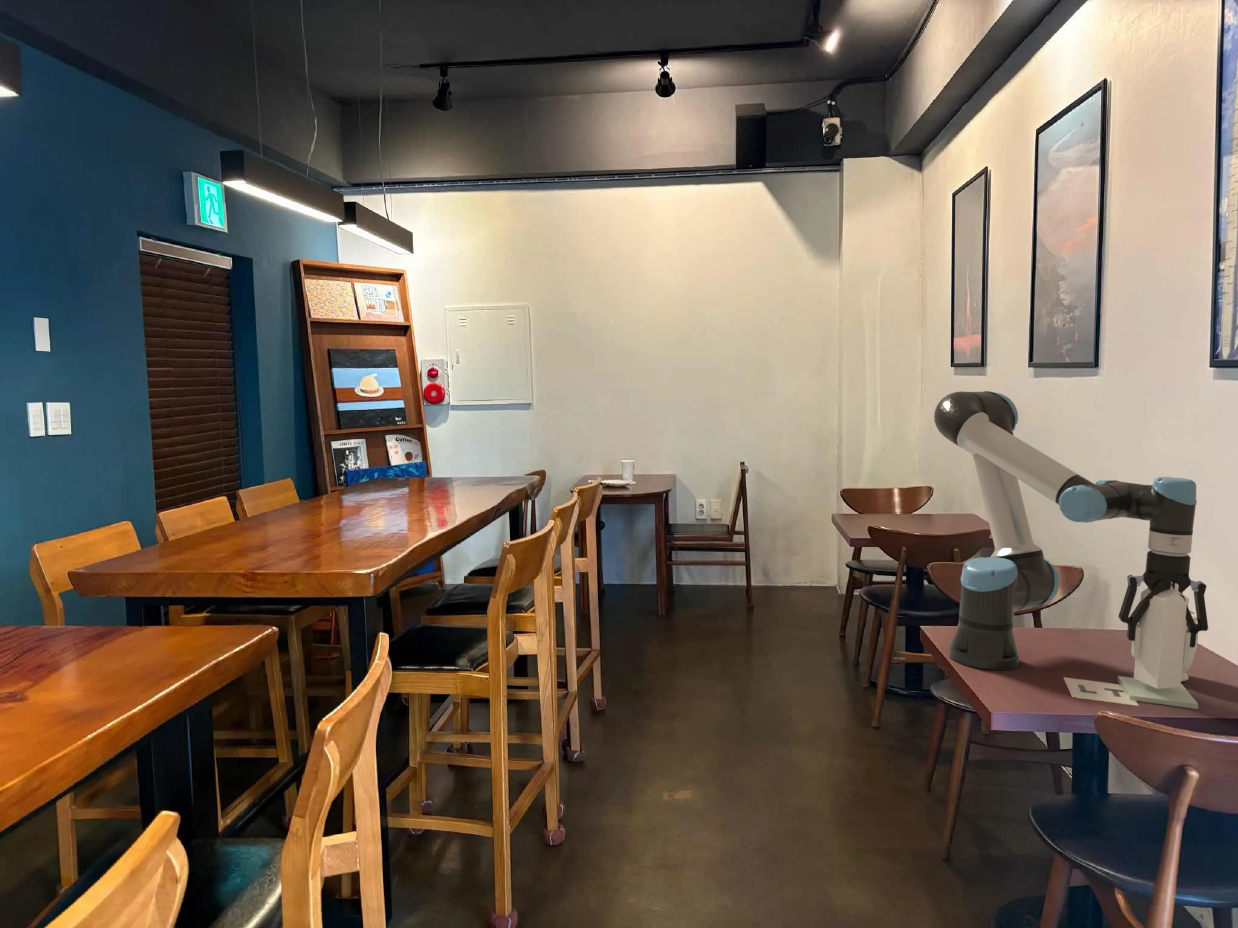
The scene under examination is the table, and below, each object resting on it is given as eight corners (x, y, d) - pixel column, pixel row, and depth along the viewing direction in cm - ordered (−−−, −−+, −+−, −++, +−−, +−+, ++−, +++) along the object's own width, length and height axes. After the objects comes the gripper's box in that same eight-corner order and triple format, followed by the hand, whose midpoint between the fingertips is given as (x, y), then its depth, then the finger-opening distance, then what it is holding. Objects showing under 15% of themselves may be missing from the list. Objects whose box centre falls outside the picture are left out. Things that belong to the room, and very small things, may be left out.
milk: (1156, 676, 178) (1166, 576, 176) (1181, 687, 172) (1191, 583, 170) (1132, 678, 177) (1142, 577, 175) (1156, 689, 171) (1166, 584, 169)
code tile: (1071, 701, 172) (1072, 696, 172) (1063, 681, 184) (1063, 676, 184) (1138, 710, 168) (1138, 705, 168) (1125, 689, 179) (1125, 684, 179)
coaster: (1129, 699, 171) (1130, 695, 171) (1117, 680, 183) (1117, 675, 182) (1198, 708, 167) (1198, 704, 167) (1181, 688, 178) (1181, 683, 178)
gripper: (1114, 551, 172) (1105, 657, 174) (1235, 560, 164) (1224, 671, 167) (1107, 544, 179) (1098, 646, 181) (1223, 553, 171) (1212, 659, 174)
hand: (1158, 658), depth 174 cm, fingers open, 8 cm apart
